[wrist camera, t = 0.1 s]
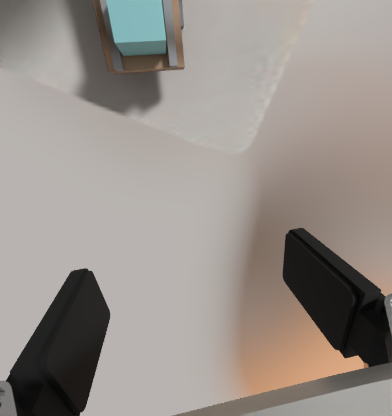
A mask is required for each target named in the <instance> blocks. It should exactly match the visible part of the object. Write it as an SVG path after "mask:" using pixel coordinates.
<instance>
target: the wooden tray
mask: <svg viewBox="0 0 392 416" xmlns="http://www.w3.org/2000/svg"><path fill="white" fill-rule="evenodd" d="M93 4H94V8H95V13H96V17H97V22H98V26H99V31H100V36H101V40H102V45H103V49H104V54H105V58H106V63H107V68H108V72H109V73H111V74H118V73H134V72H150V71H165V70H181V69H184V56H183V44H182V32H181V28H183V27H184V21H183V9H182V0H162V7H163V16H164V25H165V34H166V54H151V55H133V56H123V55H122V53H121V52H120V50H119V49H118V47H117V46H116V44H115V42H114V37H113V32H112V27H111V22H110V17H109V12H108V7H107V2H106V0H93Z"/></svg>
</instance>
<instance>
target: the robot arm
mask: <svg viewBox="0 0 392 416" xmlns="http://www.w3.org/2000/svg"><path fill="white" fill-rule="evenodd" d="M283 278H284V281H285V283H286V284H287V286H288V287H289V288H290V290H291V291H292V292H293V294H294V295H295V297H296V298H297V299H298V301H299V302H300V303H301V305H302V306H303V307H304V309H305V310H306V311H307V313H308V314H309V315H310V317H311V318H312V320H313V321H314V322H315V324H316V325H317V326H318V328H319V329H320V331H321V332H322V333H323V335H324V336H325V337H326V339H327V340H328V341H329V343H330V344H331V345H332V347H333V348H334V349H336V350H339V351H340V352H341V354H342V355H343V356H344V358H349V357H353V356H357V355H358V356H359V357H360V358H361V359H362V360H363V362H364V369H359V370H355V371H351V372H347V373H342V374H337V375H333V376H329V377H326V378H321V379H317V380H313V381H309V382H305V383H301V384H297V385H293V386H289V387H285V388H281V389H277V390H272V391H269V392H264V393H261V394H257V395H253V396H248V397H245V398H240V399H237V400H233V401H229V402H225V403H221V404H217V405H213V406H209V407H205V408H201V409H197V410H193V411H190V412H185V413H181V414H177V415H174V416H392V294H389V295H387V296H386V297H385V296H384V295H383V294H382V293H380V292H381V289H379V288H378V287H377V286H375V285H374V284H373V283H372V282H370V281H369V280H368V279H367V278H365V277H364V276H363V275H362V274H360V273H359V272H358V271H357V270H355V269H354V268H353V267H352V266H350V265H349V264H348V263H347V262H345V261H344V260H342V259H341V258H340V257H339V256H338V255H336V254H335V253H334V252H333V251H331V250H330V249H329V248H327V247H326V246H325V245H324V244H322V243H321V242H320V241H318V240H317V239H316V238H315V237H314V236H312V235H311V234H310V233H309V232H307V231H306V230H305V229H303V228H298V229H293V230H290V231H289V232H288V234H286V239H285V252H284V264H283ZM109 320H110V311H109V308H108V306H107V304H106V302H105V299H104V297H103V295H102V292H101V290H100V288H99V286H98V283H97V281H96V279H95V276H94V274H93V272H92V271H89V270H88V269H79V270H74V271H72V272H71V273H70V274H69V276H68V278H67V279H66V281H65V282H64V284H63V286H62V287H61V289H60V291H59V292H58V294H57V296H56V297H55V299H54V301H53V302H52V304H51V305H50V307H49V309H48V310H47V312H46V314H45V315H44V317H43V319H42V320H41V322H40V323H39V325H38V327H37V328H36V330H35V332H34V333H33V335H32V337H31V338H30V340H29V341H28V343H27V345H26V346H25V348H24V350H23V351H22V353H21V355H20V356H19V358H18V359H17V361H16V363H15V364H14V366H13V368H12V369H11V371H10V375H9V377H8V378H7V380H6V381H0V416H79V415H80V412H83V411H84V409H85V407H86V404H87V400H88V397H89V393H90V389H91V386H92V382H93V378H94V375H95V371H96V367H97V364H98V360H99V357H100V353H101V349H102V345H103V342H104V338H105V335H106V331H107V327H108V324H109Z"/></svg>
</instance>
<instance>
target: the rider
mask: <svg viewBox="0 0 392 416" xmlns="http://www.w3.org/2000/svg"><path fill="white" fill-rule="evenodd" d="M106 2H107V7H108V12H109V17H110V22H111V27H112V32H113V37H114V42H115V44H116V46H117V47H118V49H119V50H120V52H121V53H122V55H123V56H133V55H151V54H166V34H165V25H164V16H163V7H162V0H106Z"/></svg>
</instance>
